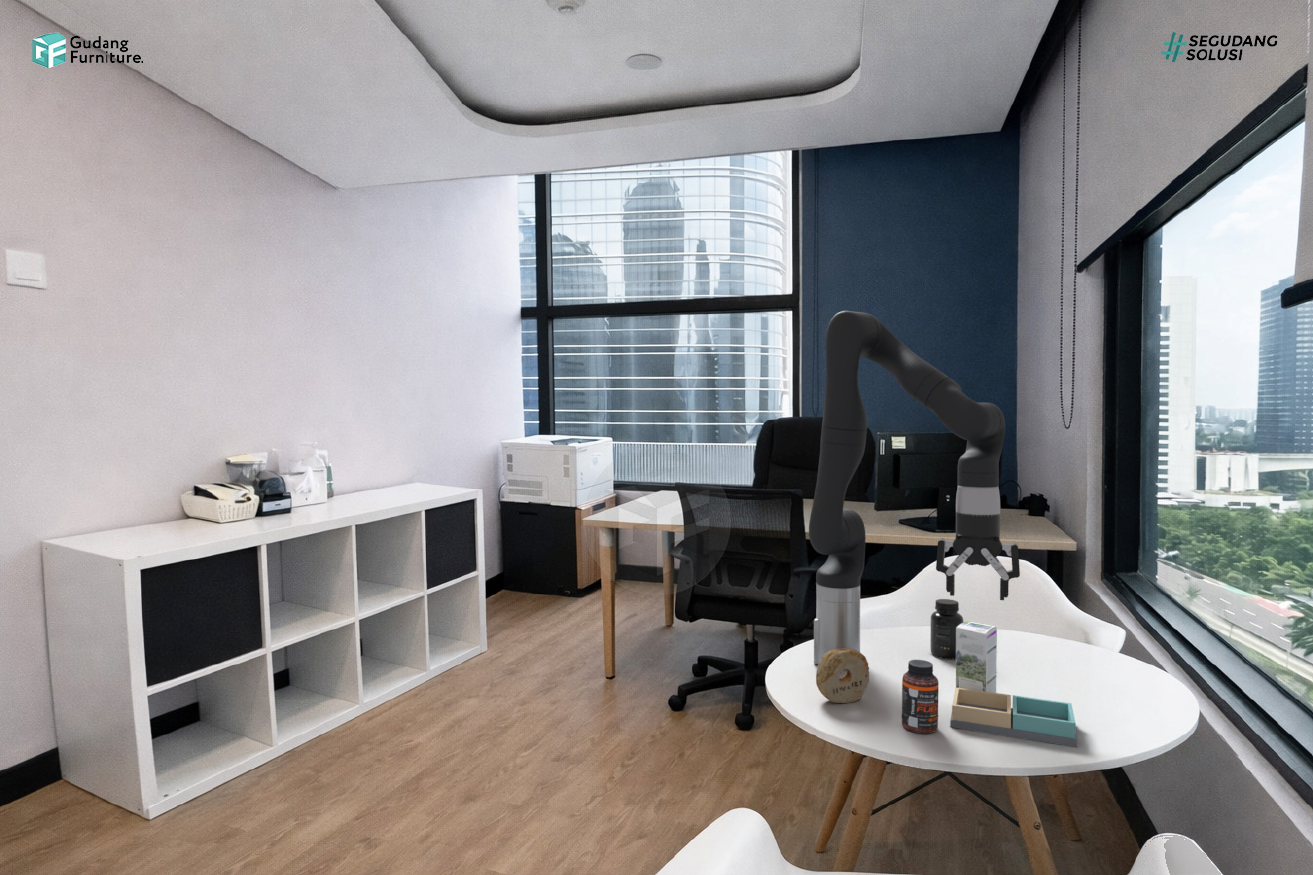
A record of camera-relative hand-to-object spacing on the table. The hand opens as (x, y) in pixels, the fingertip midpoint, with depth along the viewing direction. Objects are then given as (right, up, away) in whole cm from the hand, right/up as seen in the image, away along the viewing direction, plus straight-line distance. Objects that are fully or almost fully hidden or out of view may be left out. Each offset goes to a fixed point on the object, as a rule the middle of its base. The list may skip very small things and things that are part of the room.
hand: (977, 597), depth 141 cm
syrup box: (0, -20, +1) cm, 20 cm away
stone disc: (-25, -20, +2) cm, 32 cm away
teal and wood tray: (+2, -20, -10) cm, 22 cm away
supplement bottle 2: (+5, -19, +28) cm, 34 cm away
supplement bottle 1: (-14, -21, -10) cm, 27 cm away
